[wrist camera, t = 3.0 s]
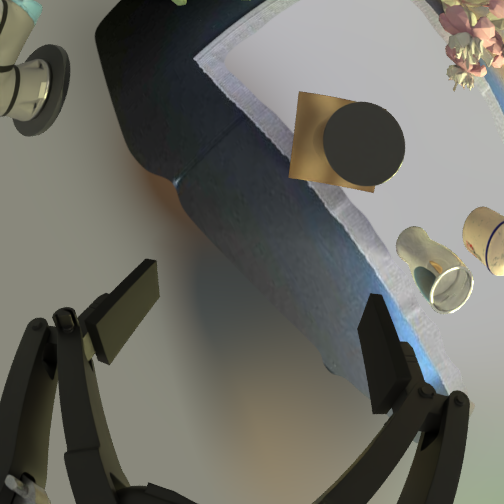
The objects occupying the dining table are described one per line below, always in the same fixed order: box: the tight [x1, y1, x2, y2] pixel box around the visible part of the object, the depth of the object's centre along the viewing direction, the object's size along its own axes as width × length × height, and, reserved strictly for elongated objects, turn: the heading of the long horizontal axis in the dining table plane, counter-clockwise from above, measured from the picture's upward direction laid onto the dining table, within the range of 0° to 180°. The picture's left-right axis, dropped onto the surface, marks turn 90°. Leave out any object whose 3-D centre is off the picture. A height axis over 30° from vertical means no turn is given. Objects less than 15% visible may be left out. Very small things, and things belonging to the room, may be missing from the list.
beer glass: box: [396, 226, 473, 314], centre depth 33 cm, size 7×7×15 cm
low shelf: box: [289, 92, 386, 193], centre depth 33 cm, size 11×11×6 cm
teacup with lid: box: [463, 207, 504, 276], centre depth 31 cm, size 12×9×12 cm
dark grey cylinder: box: [313, 102, 405, 186], centre depth 24 cm, size 6×6×14 cm
